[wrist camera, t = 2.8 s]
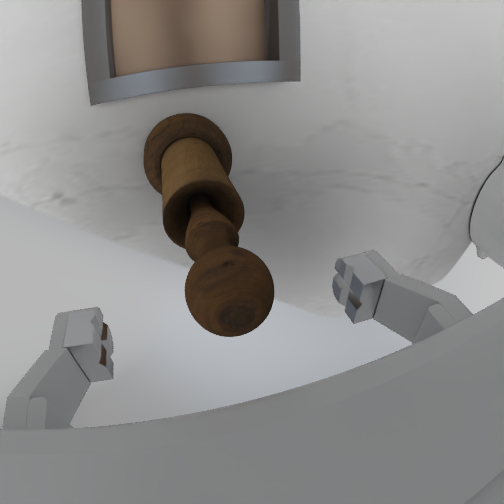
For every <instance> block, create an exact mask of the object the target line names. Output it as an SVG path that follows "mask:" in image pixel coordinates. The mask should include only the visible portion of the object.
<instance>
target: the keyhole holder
mask: <svg viewBox="0 0 504 504" xmlns="http://www.w3.org/2000/svg"><path fill="white" fill-rule="evenodd" d="M82 23H83V39H84V51H85V62H86V72H87V80H88V88H89V96H90V103H91V106H92V105H96V104H100V103H104V102H109V101H113V100H118V99H123V98H128V97H133V96H139V95H144V94H150V93H156V92H162V91H169V90H176V89H184V88H192V87H201V86H211V85H222V84H235V83H252V82H284V81H300V14H299V0H82Z"/></svg>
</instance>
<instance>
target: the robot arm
mask: <svg viewBox="0 0 504 504" xmlns="http://www.w3.org/2000/svg"><path fill="white" fill-rule="evenodd" d="M470 236H471V240H472V242H473V243H474V244H475V245H476V247H477V255H478V257H480V258H481V259H485V258H486V257H489V258H491V259H492V260H493V261H495V262H496V263H497V264H499V265H500V266H501V267H503V268H504V159H503V161H502V163H501V164H500V166H499V167H498V168H497V169H496V170H495V171H494V172H493V173H492V174H491V175H490V177H489V178H488V180H487V181H486V183H485V184H484V186H483V188H482V190H481V192H480V194H479V196H478V198H477V201H476V203H475V206H474V209H473V213H472V217H471V223H470ZM335 269H336V271H337V272H338V273H337V274H336V275H335V277H334V278H333V284H332V287H333V293H334V295H335V298H336V299H337V301H338V302H339V303H340V304H342V305H344V306H346V307H345V312H346V314H347V315H348V317H349V318H350V319H351V321H352V322H353V324H355V323H358V322H361V321H365V320H368V319H371V318H373V319H374V320H376V321H378V322H379V323H381V324H382V325H384V326H386V327H388V328H389V329H391V330H393V331H394V332H396V333H397V334H399V335H401V336H402V337H404V338H406V339H407V340H409V341H411V342H412V345H410V346H408V347H406V348H403V349H401V350H399V351H396V352H394V353H392V354H389V355H387V356H384V357H382V358H379V359H377V360H375V361H372V362H369V363H367V364H364V365H362V366H359V367H356V368H353V369H351V370H348V371H345V372H343V373H340V374H337V375H334V376H331V377H328V378H325V379H322V380H319V381H316V382H313V383H310V384H307V385H303V386H300V387H297V388H294V389H290V390H287V391H284V392H280V393H277V394H273V395H270V396H266V397H262V398H258V399H254V400H251V401H247V402H243V403H238V404H235V405H230V406H225V407H221V408H217V409H212V410H207V411H202V412H197V413H192V414H186V415H181V416H175V417H169V418H163V419H156V420H150V421H143V422H135V423H127V424H118V425H109V426H98V427H85V428H73V427H72V426H71V425H70V422H71V420H72V418H73V416H74V414H75V412H76V411H77V409H78V407H79V405H80V403H81V401H82V399H83V397H84V396H85V394H86V392H87V389H88V388H89V386H90V384H91V382H97V381H103V380H110V379H113V361H112V359H111V357H110V356H111V355H112V353H113V341H112V335H111V332H110V329H109V327H108V325H107V324H105V323H104V322H103V314H102V312H101V310H100V308H98V307H94V308H87V309H80V310H73V311H68V312H62V313H58V314H57V315H56V317H55V321H54V326H53V330H52V335H51V340H50V346H49V350H45V351H44V352H43V354H42V355H41V356H40V357H39V358H38V360H37V361H36V362H35V363H34V365H33V366H32V367H31V368H30V369H29V371H28V372H27V373H26V374H25V376H24V377H23V378H22V379H21V381H20V382H19V383H18V384H17V386H16V387H15V388H14V390H13V391H12V392H11V393H10V395H9V396H8V397H7V402H6V408H5V414H4V422H3V429H0V504H504V298H502V299H501V300H499V301H497V302H495V303H494V304H492V305H490V306H488V307H487V308H485V309H483V310H481V311H480V312H477V313H476V314H474V315H473V314H472V313H471V312H470V311H469V310H468V309H467V307H466V306H465V305H464V304H463V303H462V302H461V301H460V300H459V299H458V298H457V297H456V296H455V295H453V294H450V293H448V292H446V291H443V290H441V289H439V288H436V287H434V286H431V285H429V284H426V283H424V282H421V281H419V280H416V279H414V278H411V277H409V276H406V275H404V274H402V275H399V274H398V273H397V272H396V271H395V270H394V269H393V268H392V267H391V266H390V265H389V264H388V263H387V261H386V260H385V259H384V258H383V257H382V256H381V255H380V254H379V253H378V252H377V251H374V250H372V251H368V252H364V253H361V254H357V255H352V256H348V257H344V258H339V259H337V261H336V264H335Z"/></svg>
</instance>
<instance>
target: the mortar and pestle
mask: <svg viewBox="0 0 504 504" xmlns="http://www.w3.org/2000/svg"><path fill="white" fill-rule="evenodd" d="M231 165H232V153H231V148H230V145H229V142H228V140H227V138H226V137H225V135H224V134H223V133H222V131H221V130H220V129H219V128H218V126H217V125H215V124H214V123H213V122H212V121H210V120H209V119H207V118H205V117H203V116H200V115H196V114H188V113H185V114H177V115H173V116H171V117H168V118H166V119H164V120H163V121H161V122H160V123H159V124H158V125H157V126H156V127H155V128H154V129H153V130H152V132H151V133H150V135H149V137H148V139H147V141H146V144H145V150H144V169H145V173H146V176H147V178H148V180H149V182H150V184H151V185H152V186H153V188H154V189H155V190H156V191H157V192H159V193H160V194H161V195H162V201H163V225H164V229H165V231H166V233H167V235H168V237H169V238H170V239H171V240H172V241H173V242H174V243H175V244H177V245H178V246H180V247H182V248H184V249H186V251H187V253H188V255H189V257H190V258H191V259H192V260H194V261H195V263H194V264H193V266H192V267H191V269H190V271H189V273H188V276H187V279H186V283H185V297H186V302H187V305H188V308H189V310H190V312H191V314H192V316H193V317H194V319H195V320H196V321H197V322H198V323H199V324H200V325H201V326H202V327H203V328H204V329H206V330H208V331H209V332H211V333H214V334H216V335H219V336H225V337H234V336H240V335H244V334H246V333H249V332H251V331H252V330H254V329H255V328H257V327H258V326H259V325H260V324H261V323H262V322H263V321H264V320H265V319H266V317H267V316H268V314H269V312H270V310H271V307H272V304H273V300H274V284H273V279H272V276H271V274H270V271H269V269H268V268H267V266H266V265H265V263H264V262H263V261H262V260H261V259H260V258H259V257H258V256H257V255H255V254H254V253H252V252H250V251H248V250H246V249H243V248H240V247H238V244H239V235H238V232H239V230H240V228H241V226H242V224H243V220H244V206H243V202H242V200H241V198H240V196H239V194H238V193H237V191H236V189H235V188H234V186H233V184H232V183H231V181H230V179H229V178H228V175H229V172H230V169H231Z"/></svg>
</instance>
